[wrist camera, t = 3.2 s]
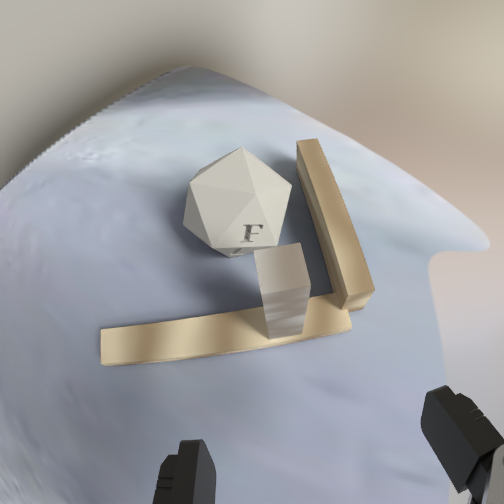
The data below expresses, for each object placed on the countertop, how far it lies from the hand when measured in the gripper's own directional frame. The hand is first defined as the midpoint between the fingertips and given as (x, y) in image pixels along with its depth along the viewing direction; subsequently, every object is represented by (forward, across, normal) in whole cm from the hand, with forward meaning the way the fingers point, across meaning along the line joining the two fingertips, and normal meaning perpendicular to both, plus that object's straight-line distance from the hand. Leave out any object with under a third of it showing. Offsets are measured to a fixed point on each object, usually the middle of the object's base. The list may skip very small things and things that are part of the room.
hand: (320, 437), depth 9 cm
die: (+22, +2, -3) cm, 22 cm away
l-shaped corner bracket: (+19, +4, -2) cm, 20 cm away
